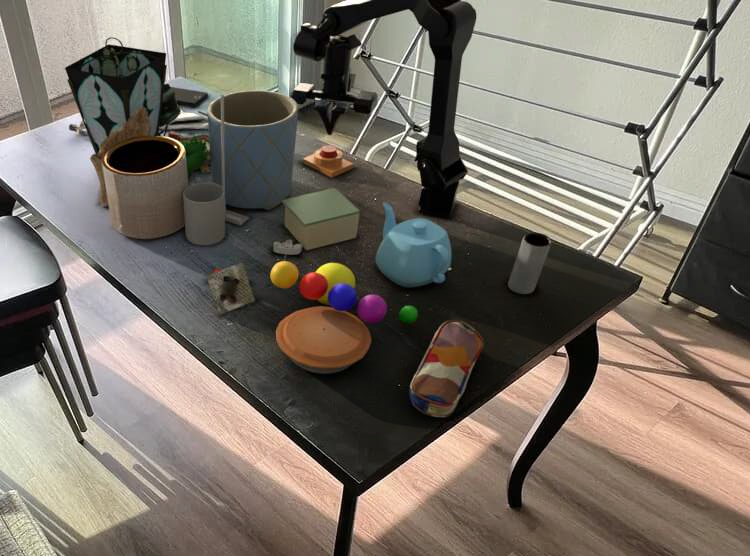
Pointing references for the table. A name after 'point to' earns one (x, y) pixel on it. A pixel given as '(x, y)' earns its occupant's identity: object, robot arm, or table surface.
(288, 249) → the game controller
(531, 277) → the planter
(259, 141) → the planter
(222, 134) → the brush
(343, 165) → the button housing
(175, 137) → the denture
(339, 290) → the spheres
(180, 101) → the cell phone
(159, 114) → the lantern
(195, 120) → the cloth
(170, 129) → the feather
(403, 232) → the teapot
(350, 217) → the cream storage box
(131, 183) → the planter
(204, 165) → the decorative book
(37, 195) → the table surface
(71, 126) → the person figure
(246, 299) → the tan textured box
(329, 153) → the button
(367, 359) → the table surface
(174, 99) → the headphones
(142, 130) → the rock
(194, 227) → the cup
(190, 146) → the toy
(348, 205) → the lid
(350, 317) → the pie
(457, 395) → the pencil case
